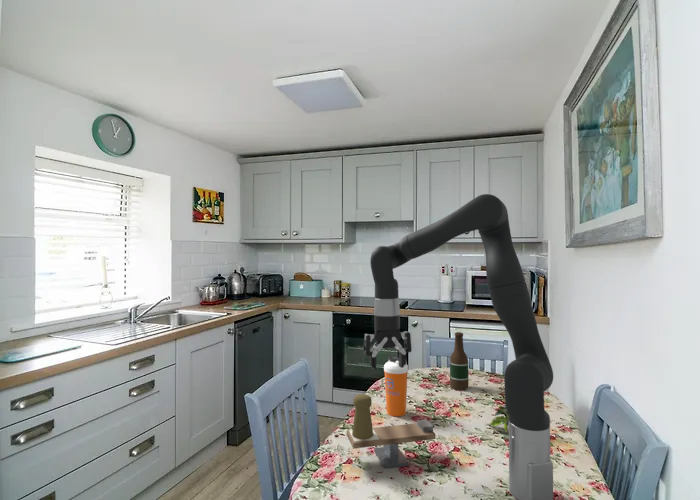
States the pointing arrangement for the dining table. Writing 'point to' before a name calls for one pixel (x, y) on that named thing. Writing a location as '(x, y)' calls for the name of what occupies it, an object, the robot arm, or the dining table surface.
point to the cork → (362, 417)
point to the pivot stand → (391, 456)
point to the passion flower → (501, 417)
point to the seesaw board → (395, 434)
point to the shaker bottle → (395, 387)
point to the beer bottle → (459, 365)
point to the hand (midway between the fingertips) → (387, 368)
